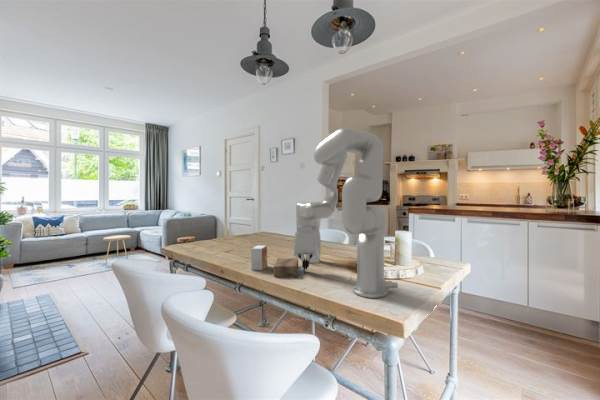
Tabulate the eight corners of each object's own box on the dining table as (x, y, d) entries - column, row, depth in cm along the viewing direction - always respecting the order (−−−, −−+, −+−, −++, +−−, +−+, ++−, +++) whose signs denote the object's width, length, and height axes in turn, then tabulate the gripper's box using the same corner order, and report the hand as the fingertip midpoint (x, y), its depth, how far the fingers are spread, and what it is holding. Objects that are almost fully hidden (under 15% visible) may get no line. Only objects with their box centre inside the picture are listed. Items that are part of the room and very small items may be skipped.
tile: (304, 271, 127) (303, 266, 127) (303, 275, 121) (303, 270, 121) (278, 271, 128) (278, 266, 127) (277, 275, 122) (277, 270, 122)
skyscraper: (306, 260, 148) (306, 209, 148) (321, 259, 148) (320, 208, 147) (306, 264, 140) (305, 210, 139) (321, 264, 139) (321, 210, 139)
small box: (262, 270, 128) (261, 248, 128) (251, 270, 130) (250, 248, 129) (267, 266, 136) (267, 245, 136) (257, 265, 137) (256, 245, 137)
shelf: (302, 267, 132) (302, 258, 132) (301, 276, 118) (301, 266, 118) (277, 267, 133) (277, 258, 132) (274, 276, 119) (273, 266, 118)
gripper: (320, 228, 128) (321, 266, 128) (289, 228, 129) (290, 266, 129) (321, 230, 121) (322, 270, 121) (287, 230, 121) (288, 271, 122)
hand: (305, 268), depth 125 cm, fingers closed
